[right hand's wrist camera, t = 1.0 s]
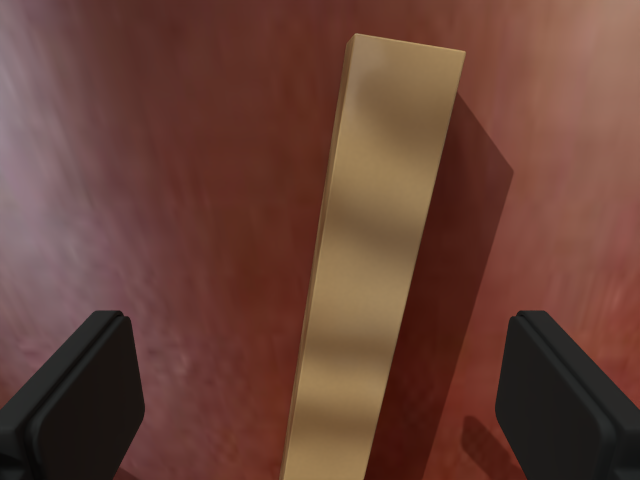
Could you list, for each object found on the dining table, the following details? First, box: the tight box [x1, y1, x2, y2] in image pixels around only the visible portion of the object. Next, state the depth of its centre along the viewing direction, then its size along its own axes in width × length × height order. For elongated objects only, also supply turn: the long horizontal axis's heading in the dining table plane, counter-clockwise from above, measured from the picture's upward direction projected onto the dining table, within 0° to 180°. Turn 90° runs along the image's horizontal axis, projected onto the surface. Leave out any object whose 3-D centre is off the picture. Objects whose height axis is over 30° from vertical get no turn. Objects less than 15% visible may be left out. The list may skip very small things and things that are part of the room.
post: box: [279, 34, 466, 480], centre depth 32 cm, size 57×5×6 cm, turn 172°
